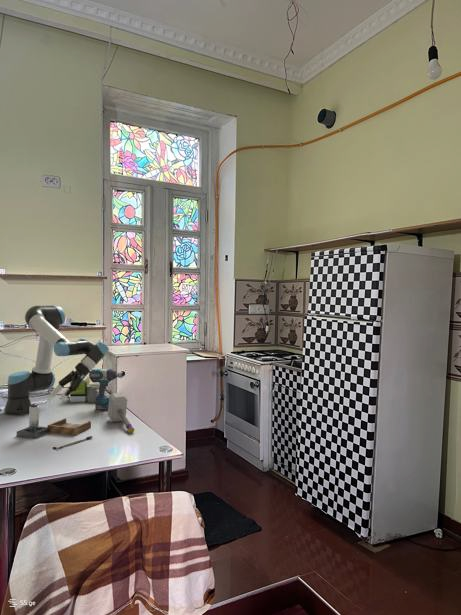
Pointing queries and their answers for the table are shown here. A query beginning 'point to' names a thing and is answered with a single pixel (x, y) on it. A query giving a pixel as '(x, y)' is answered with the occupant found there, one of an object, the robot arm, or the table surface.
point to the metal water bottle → (34, 418)
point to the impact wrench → (103, 385)
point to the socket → (34, 435)
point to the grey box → (92, 392)
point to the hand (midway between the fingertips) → (56, 398)
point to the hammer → (119, 410)
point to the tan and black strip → (72, 443)
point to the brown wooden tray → (68, 427)
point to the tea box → (80, 391)
